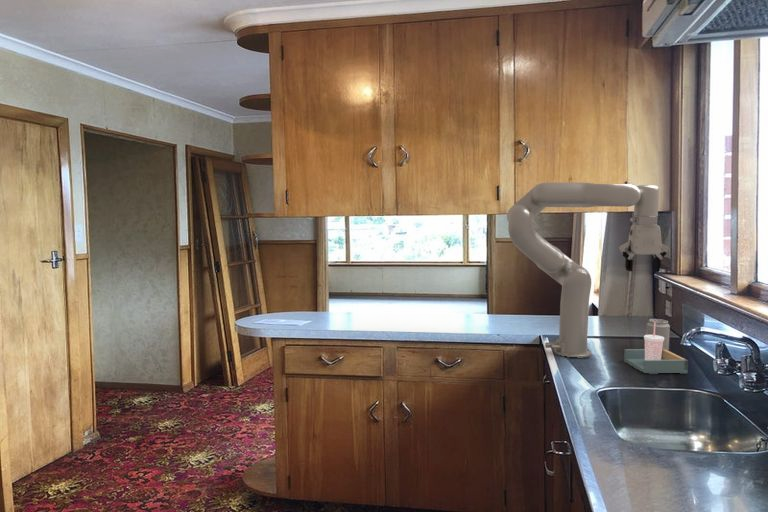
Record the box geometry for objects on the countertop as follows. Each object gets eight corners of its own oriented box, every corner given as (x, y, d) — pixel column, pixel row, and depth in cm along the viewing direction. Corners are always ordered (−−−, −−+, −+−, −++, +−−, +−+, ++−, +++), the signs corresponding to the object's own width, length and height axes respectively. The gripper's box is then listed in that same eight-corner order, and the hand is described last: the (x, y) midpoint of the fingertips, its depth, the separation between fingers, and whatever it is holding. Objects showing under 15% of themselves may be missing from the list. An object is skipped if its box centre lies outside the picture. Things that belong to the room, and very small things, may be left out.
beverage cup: (638, 362, 193) (641, 321, 192) (648, 359, 197) (650, 319, 195) (656, 367, 188) (659, 324, 187) (666, 364, 192) (668, 322, 191)
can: (670, 356, 206) (672, 322, 205) (648, 355, 207) (649, 321, 206) (665, 350, 213) (667, 318, 212) (643, 349, 215) (644, 317, 213)
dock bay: (644, 373, 185) (645, 361, 185) (623, 361, 199) (624, 349, 199) (687, 373, 186) (688, 360, 186) (663, 360, 200) (664, 348, 200)
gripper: (626, 221, 196) (623, 272, 198) (675, 221, 198) (672, 272, 199) (615, 220, 204) (613, 269, 206) (663, 220, 205) (661, 269, 207)
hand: (642, 270), depth 203 cm, fingers open, 9 cm apart
